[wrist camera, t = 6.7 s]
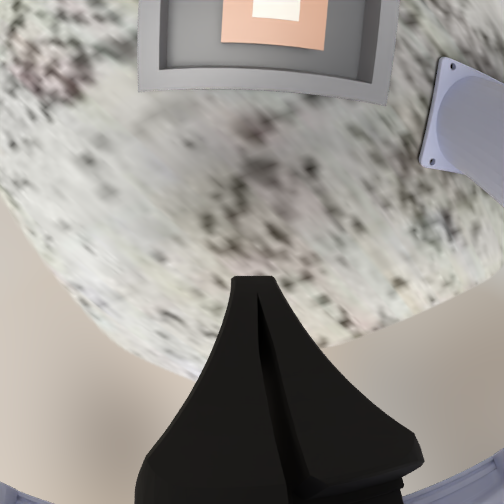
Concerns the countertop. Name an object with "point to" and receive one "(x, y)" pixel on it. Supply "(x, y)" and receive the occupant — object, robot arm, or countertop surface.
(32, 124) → the countertop surface
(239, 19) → the key terracotta
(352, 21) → the grey compartment tray
